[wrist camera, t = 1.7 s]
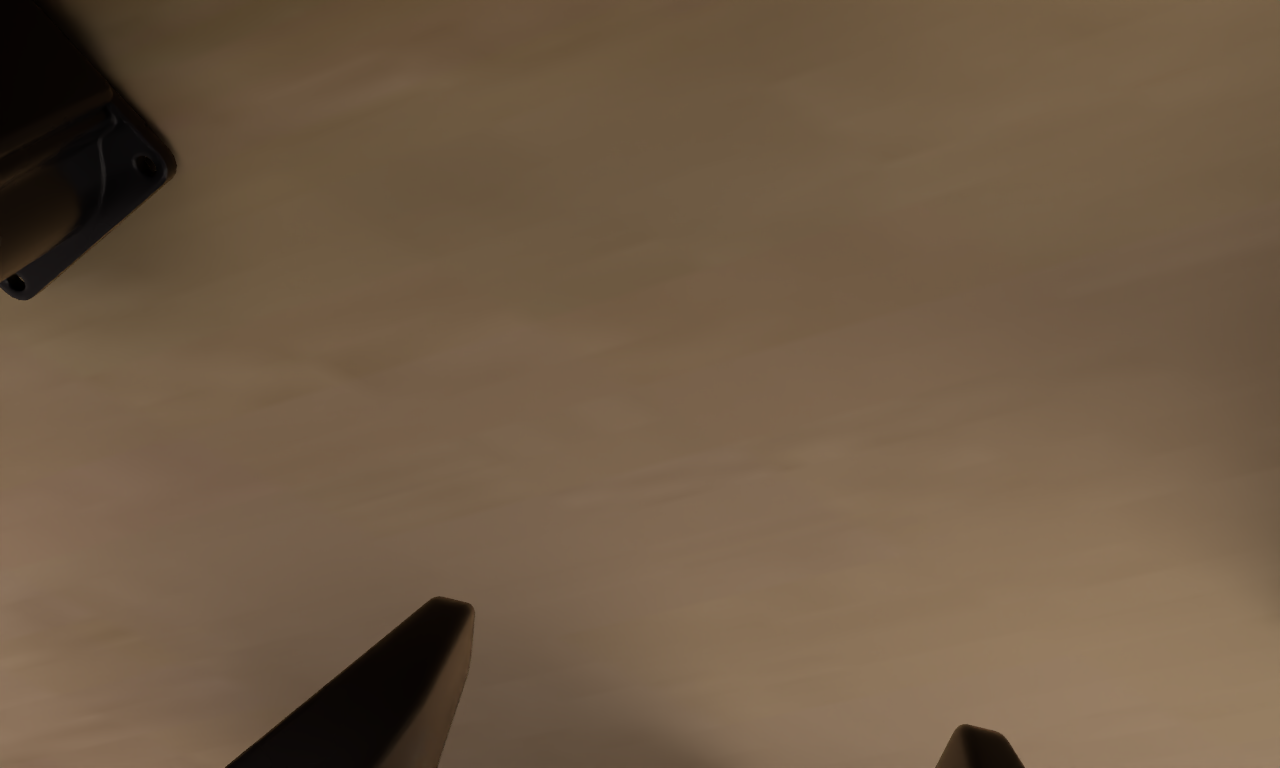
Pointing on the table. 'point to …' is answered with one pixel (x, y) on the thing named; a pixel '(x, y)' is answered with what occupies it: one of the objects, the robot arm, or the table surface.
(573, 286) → the table surface
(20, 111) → the robot arm
